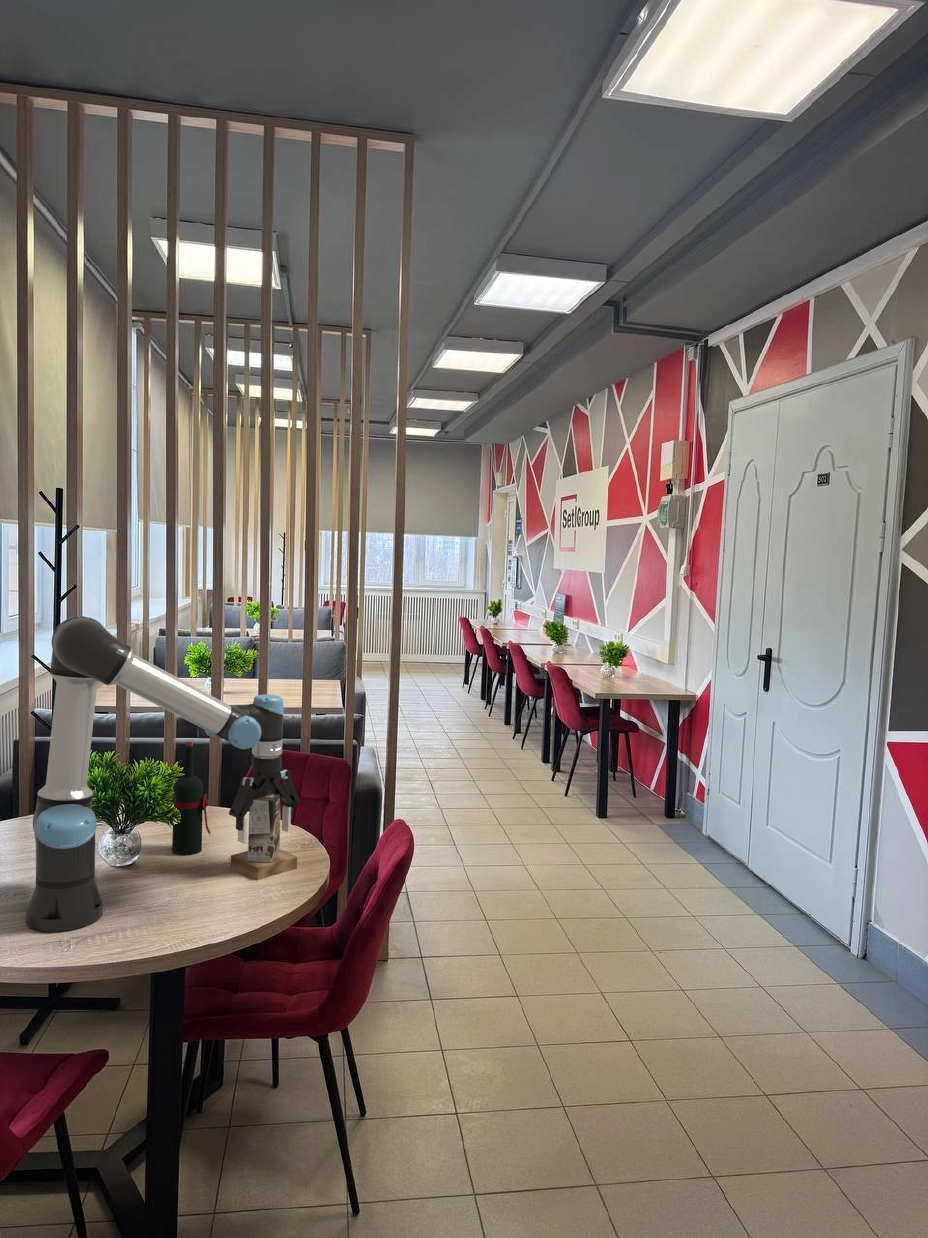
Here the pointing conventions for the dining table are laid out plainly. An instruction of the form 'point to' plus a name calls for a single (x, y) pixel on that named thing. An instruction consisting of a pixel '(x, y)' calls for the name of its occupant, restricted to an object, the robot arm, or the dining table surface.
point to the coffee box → (264, 827)
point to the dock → (263, 864)
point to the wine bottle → (189, 809)
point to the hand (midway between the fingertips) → (264, 836)
